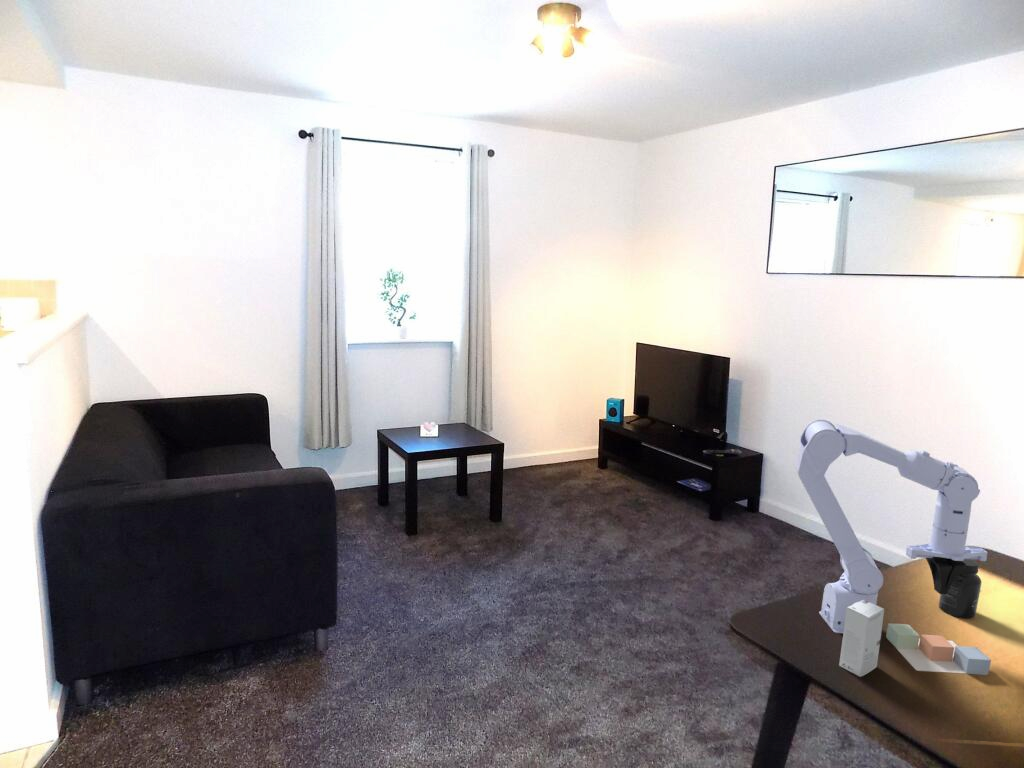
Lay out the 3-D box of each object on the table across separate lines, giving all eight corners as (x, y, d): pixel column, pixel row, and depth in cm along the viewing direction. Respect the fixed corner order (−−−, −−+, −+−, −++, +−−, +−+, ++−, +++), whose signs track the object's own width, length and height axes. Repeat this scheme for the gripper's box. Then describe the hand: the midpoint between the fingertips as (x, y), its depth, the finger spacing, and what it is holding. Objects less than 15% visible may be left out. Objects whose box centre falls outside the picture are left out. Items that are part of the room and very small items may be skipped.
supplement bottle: (981, 622, 140) (991, 570, 138) (945, 618, 142) (955, 566, 139) (966, 606, 147) (975, 556, 145) (932, 602, 148) (941, 552, 146)
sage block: (896, 648, 129) (898, 634, 128) (886, 636, 133) (888, 623, 132) (917, 649, 129) (919, 635, 128) (906, 637, 133) (908, 624, 132)
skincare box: (860, 679, 119) (870, 618, 117) (837, 666, 123) (845, 607, 121) (877, 668, 123) (887, 608, 121) (854, 656, 126) (862, 598, 124)
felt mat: (916, 672, 122) (916, 670, 122) (885, 638, 133) (886, 636, 133) (987, 676, 122) (988, 674, 121) (951, 642, 132) (951, 640, 132)
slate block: (966, 673, 122) (968, 658, 121) (952, 660, 126) (955, 646, 125) (988, 674, 121) (991, 659, 121) (974, 661, 125) (976, 647, 125)
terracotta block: (930, 660, 125) (932, 646, 125) (918, 648, 129) (920, 634, 129) (951, 661, 125) (954, 647, 124) (939, 649, 129) (941, 635, 128)
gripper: (924, 535, 125) (914, 600, 128) (1001, 537, 125) (991, 603, 127) (903, 520, 132) (895, 583, 135) (977, 522, 132) (967, 585, 134)
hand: (940, 591), depth 131 cm, fingers closed
